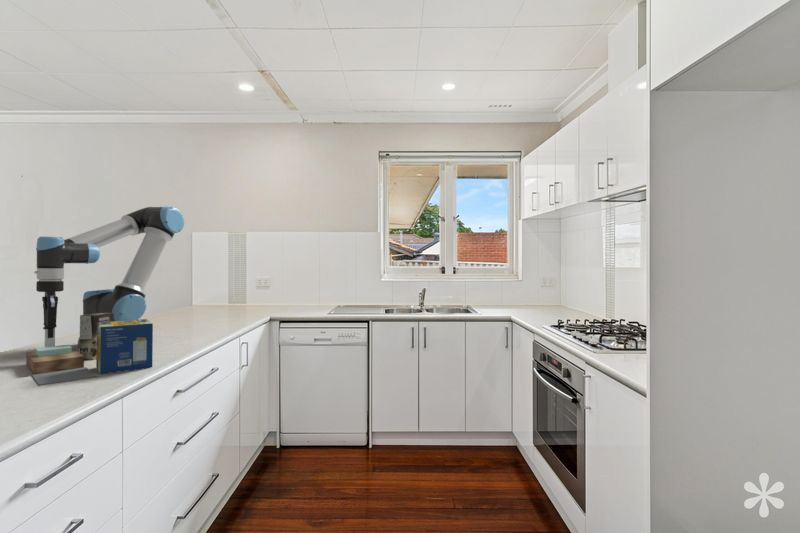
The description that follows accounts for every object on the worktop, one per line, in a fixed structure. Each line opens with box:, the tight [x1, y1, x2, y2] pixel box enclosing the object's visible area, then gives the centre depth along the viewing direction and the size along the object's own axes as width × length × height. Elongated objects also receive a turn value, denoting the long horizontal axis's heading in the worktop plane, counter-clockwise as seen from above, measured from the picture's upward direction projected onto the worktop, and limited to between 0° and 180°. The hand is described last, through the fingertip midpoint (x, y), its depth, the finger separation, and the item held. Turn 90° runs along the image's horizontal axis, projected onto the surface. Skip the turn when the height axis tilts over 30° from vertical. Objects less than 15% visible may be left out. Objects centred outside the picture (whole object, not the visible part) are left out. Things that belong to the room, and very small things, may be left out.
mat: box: [31, 366, 97, 386], centre depth 138 cm, size 14×14×1 cm
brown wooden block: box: [25, 347, 85, 375], centre depth 149 cm, size 13×18×4 cm
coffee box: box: [78, 313, 114, 361], centre depth 163 cm, size 9×6×16 cm
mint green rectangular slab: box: [35, 344, 73, 357], centre depth 150 cm, size 9×6×2 cm, turn 136°
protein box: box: [95, 318, 154, 375], centre depth 149 cm, size 10×15×16 cm
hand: (49, 346), depth 155 cm, fingers closed
